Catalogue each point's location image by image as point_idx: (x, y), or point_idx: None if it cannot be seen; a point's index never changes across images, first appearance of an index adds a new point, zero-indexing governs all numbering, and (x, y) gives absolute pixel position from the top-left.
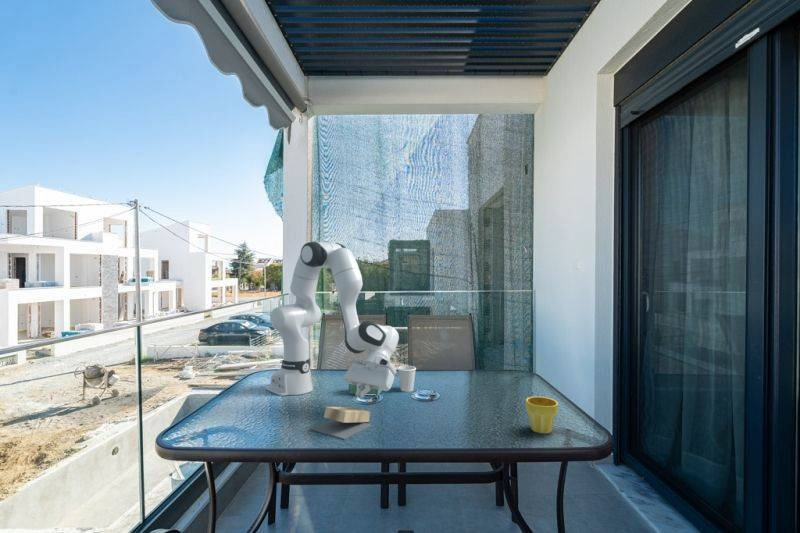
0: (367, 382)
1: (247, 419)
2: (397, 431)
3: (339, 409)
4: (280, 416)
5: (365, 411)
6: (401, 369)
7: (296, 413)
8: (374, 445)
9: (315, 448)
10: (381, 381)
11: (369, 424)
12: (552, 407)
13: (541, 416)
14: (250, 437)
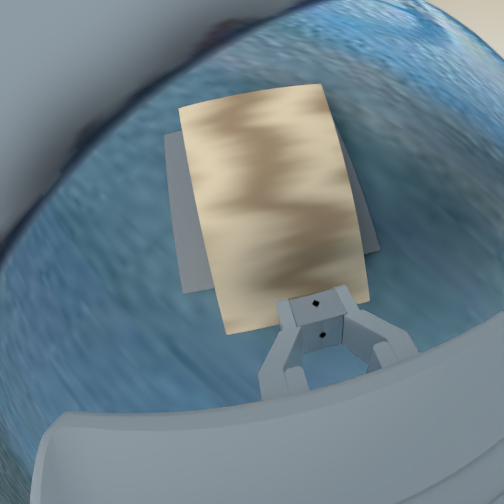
0: (281, 404)
1: (472, 78)
2: (78, 324)
3: (245, 112)
4: (472, 124)
5: (228, 298)
6: None
7: (480, 165)
8: (71, 189)
9: (191, 65)
10: (86, 455)
11: (191, 288)
12: None
13: None
14: (365, 25)
